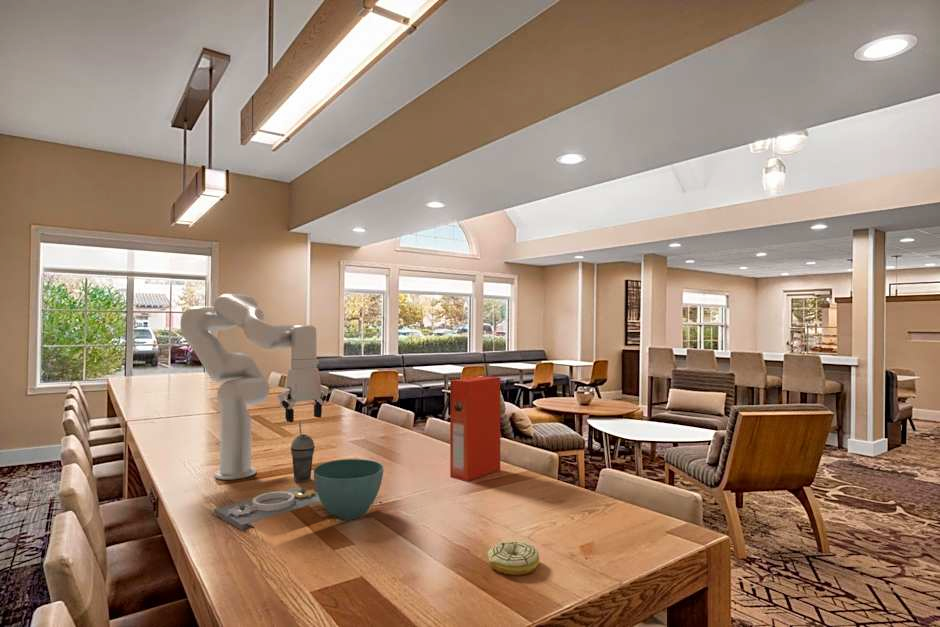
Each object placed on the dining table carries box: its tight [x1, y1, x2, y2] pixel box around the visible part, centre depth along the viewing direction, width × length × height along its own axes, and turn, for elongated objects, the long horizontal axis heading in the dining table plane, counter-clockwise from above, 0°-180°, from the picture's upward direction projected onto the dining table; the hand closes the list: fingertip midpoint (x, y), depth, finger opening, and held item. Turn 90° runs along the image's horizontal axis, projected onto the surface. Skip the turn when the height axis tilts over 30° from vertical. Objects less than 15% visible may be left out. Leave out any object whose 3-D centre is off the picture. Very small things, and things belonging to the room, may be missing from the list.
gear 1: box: [227, 505, 256, 518], centre depth 136 cm, size 7×7×2 cm
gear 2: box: [291, 488, 317, 500], centre depth 149 cm, size 7×7×2 cm
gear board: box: [213, 486, 322, 532], centre depth 142 cm, size 16×25×3 cm, turn 139°
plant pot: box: [313, 458, 384, 521], centre depth 139 cm, size 18×18×12 cm
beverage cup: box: [290, 420, 316, 483], centre depth 163 cm, size 7×7×20 cm
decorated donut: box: [487, 541, 540, 576], centre depth 111 cm, size 10×11×4 cm
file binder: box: [449, 375, 501, 482], centre depth 177 cm, size 8×17×32 cm, turn 140°
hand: (304, 419), depth 163 cm, fingers open, 9 cm apart
